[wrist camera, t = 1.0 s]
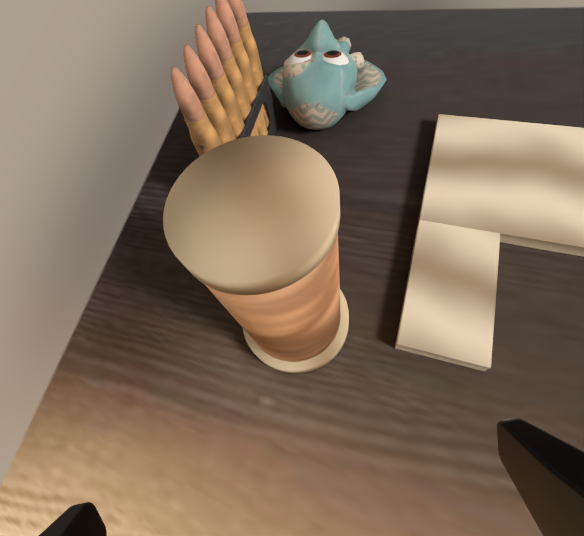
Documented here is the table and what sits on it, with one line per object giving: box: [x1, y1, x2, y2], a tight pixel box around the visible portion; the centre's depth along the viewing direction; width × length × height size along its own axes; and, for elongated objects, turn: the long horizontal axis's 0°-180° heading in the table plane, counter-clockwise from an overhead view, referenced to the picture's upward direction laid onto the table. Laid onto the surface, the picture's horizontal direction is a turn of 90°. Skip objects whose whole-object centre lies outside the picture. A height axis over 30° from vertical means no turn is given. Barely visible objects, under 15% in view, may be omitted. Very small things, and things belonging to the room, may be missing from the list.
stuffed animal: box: [268, 20, 387, 130], centre depth 30 cm, size 11×7×12 cm
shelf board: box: [395, 114, 584, 371], centre depth 23 cm, size 20×19×1 cm
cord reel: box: [163, 135, 349, 374], centre depth 17 cm, size 7×7×13 cm
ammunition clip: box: [171, 0, 278, 156], centre depth 25 cm, size 11×2×12 cm, turn 167°
